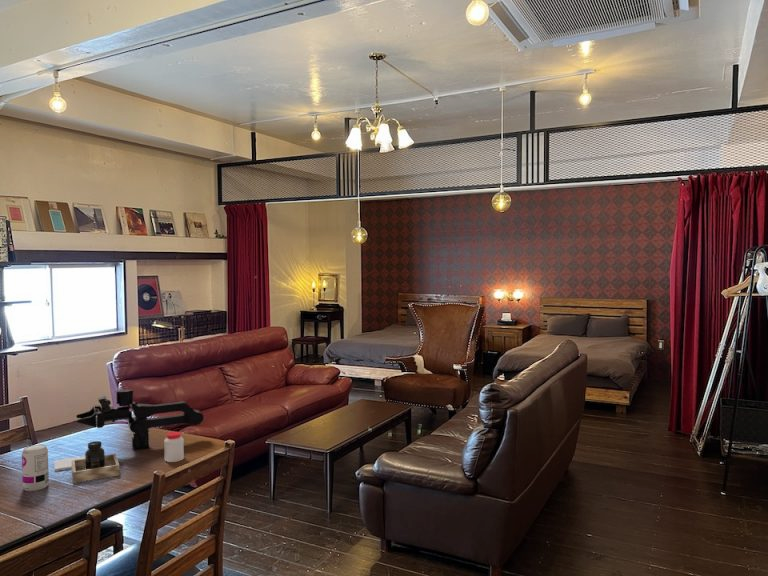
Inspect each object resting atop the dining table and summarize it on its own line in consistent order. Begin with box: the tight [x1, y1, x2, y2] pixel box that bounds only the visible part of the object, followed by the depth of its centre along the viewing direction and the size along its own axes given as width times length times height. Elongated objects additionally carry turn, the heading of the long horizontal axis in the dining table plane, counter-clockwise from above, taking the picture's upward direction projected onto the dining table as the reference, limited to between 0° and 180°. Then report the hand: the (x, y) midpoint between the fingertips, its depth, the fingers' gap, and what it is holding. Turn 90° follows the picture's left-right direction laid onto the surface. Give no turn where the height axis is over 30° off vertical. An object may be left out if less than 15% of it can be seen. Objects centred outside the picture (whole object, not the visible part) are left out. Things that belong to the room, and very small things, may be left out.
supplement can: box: [21, 444, 50, 492], centre depth 210 cm, size 8×8×15 cm
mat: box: [54, 455, 85, 472], centre depth 235 cm, size 12×12×1 cm
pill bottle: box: [163, 431, 185, 463], centre depth 241 cm, size 8×8×11 cm
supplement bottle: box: [84, 440, 106, 470], centre depth 225 cm, size 7×7×12 cm
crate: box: [71, 453, 121, 484], centre depth 225 cm, size 16×16×4 cm
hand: (76, 418), depth 245 cm, fingers open, 9 cm apart
